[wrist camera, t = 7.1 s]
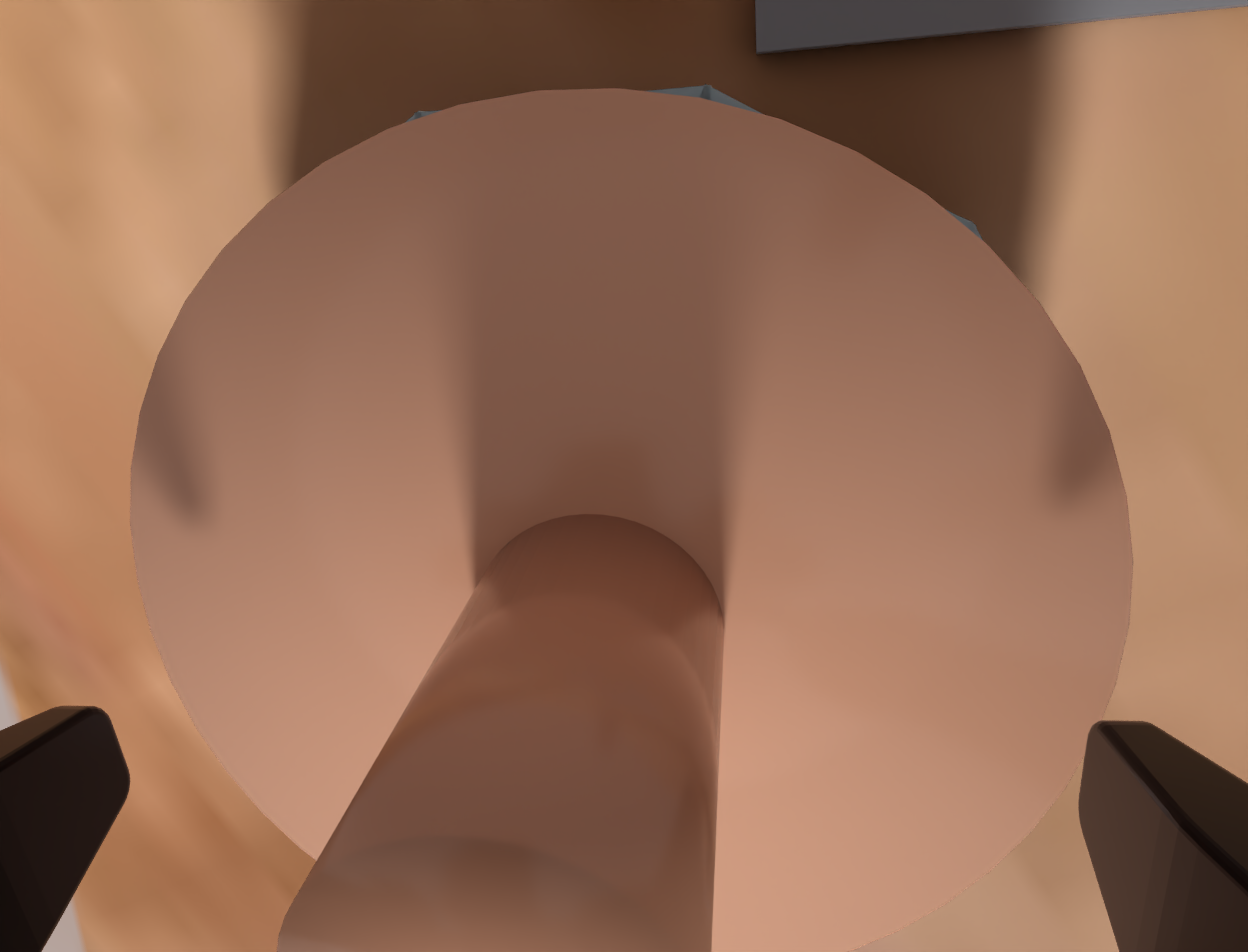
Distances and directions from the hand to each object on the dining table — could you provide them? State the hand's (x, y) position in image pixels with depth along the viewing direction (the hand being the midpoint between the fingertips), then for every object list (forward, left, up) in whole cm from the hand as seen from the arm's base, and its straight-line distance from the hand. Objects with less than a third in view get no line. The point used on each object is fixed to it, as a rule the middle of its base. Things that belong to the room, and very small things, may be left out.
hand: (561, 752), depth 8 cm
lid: (0, 0, -3) cm, 3 cm away
